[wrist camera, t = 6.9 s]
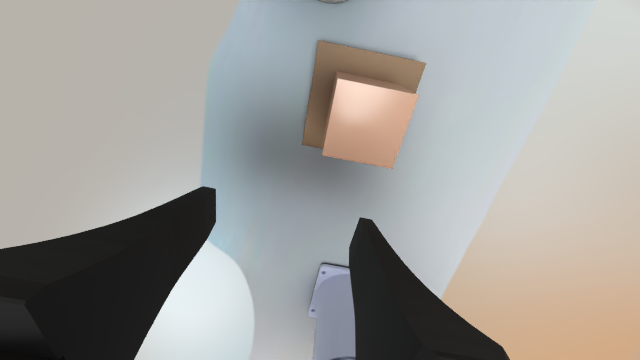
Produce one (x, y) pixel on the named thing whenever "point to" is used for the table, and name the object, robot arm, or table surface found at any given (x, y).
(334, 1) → the beverage can
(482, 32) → the table surface
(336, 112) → the block
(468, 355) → the robot arm
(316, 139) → the plinth
